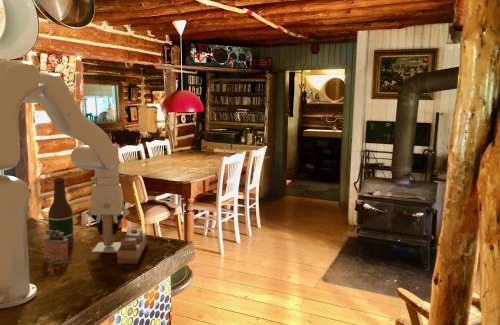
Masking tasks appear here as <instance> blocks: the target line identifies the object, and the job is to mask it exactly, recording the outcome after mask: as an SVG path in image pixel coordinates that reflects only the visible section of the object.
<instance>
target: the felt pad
mask: <svg viewBox="0 0 500 325" xmlns="http://www.w3.org/2000/svg"><path fill="white" fill-rule="evenodd" d="M103 242H104V241H99V242H98V243H97V244H96V245H95V246H94V248H93V249H92V251H91V253H92V254H93V253H94V254H98V253H102V254H103V253H108V254H110V253H116V254H117V251H118V249H119V248H120V246H121V241H118V242H117V241H116V242H115V241H114V243H113V245H112V246H104V244H103Z"/></svg>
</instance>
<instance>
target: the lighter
mask: <svg viewBox="0 0 500 325" xmlns="http://www.w3.org/2000/svg"><path fill="white" fill-rule="evenodd" d="M45 235H46V236H44V237H43V241H44V262H46V263H49V264H55V265H66V264H68V263H70V259H69V253H68V250H69V249H68V243H67V242H68V239H67V238H63V237H64V232H60V231H59V230H56V231H54V230H49V229H47V230H46V231H45ZM49 235H50V236H49Z"/></svg>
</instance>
